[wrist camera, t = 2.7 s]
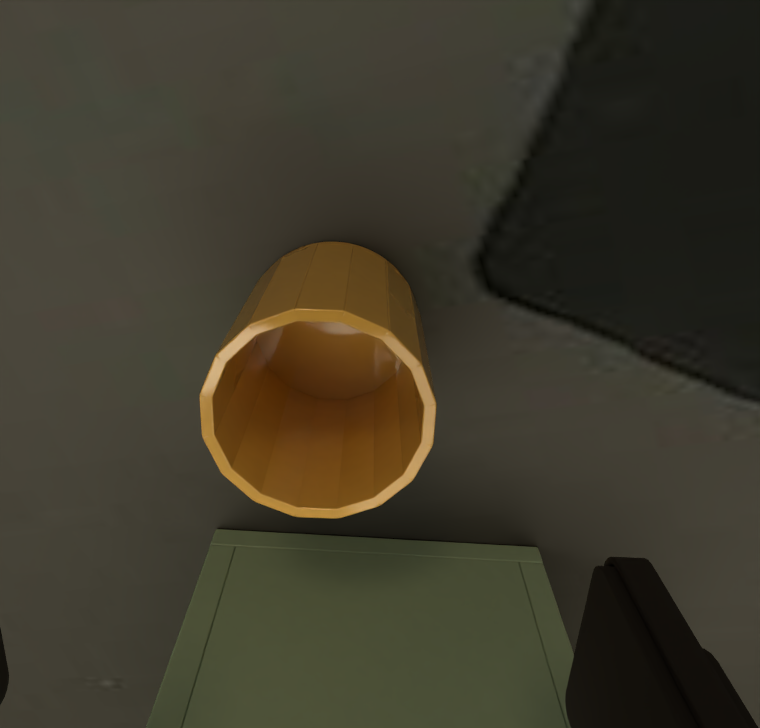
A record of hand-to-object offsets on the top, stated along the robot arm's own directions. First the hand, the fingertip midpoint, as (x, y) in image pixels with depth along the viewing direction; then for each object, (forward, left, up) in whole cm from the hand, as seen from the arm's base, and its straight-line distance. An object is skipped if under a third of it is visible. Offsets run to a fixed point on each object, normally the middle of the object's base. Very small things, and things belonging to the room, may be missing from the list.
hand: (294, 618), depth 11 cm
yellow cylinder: (0, 0, -12) cm, 12 cm away
